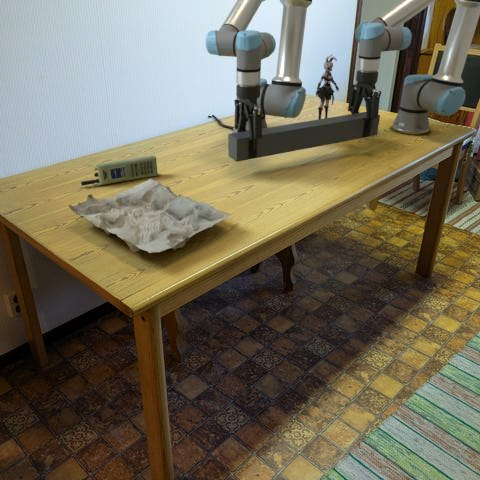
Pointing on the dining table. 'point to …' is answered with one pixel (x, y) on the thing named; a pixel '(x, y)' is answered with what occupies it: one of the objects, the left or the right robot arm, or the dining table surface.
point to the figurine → (326, 87)
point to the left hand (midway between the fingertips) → (247, 154)
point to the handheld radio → (124, 170)
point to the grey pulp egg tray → (149, 216)
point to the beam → (301, 136)
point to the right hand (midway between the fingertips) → (360, 133)
